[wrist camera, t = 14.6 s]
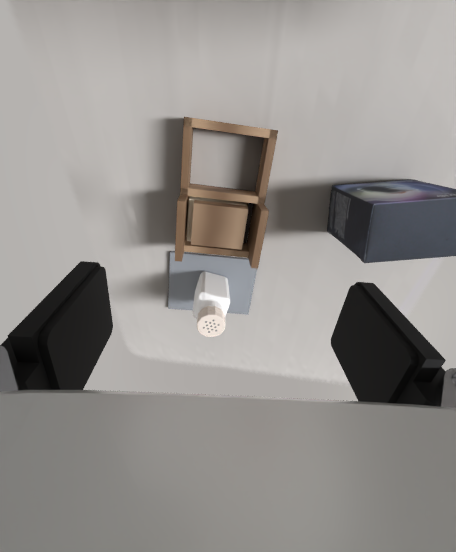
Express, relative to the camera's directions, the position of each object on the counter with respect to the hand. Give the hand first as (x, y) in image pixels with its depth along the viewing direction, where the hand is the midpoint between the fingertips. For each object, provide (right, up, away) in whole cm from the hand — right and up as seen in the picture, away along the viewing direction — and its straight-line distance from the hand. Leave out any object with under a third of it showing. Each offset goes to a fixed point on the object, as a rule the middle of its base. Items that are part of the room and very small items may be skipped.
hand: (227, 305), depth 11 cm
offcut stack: (-1, +9, +25) cm, 26 cm away
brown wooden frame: (-1, +12, +23) cm, 26 cm away
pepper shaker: (-2, 0, +29) cm, 29 cm away
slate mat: (-2, 0, +29) cm, 29 cm away
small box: (+18, +10, +25) cm, 33 cm away
